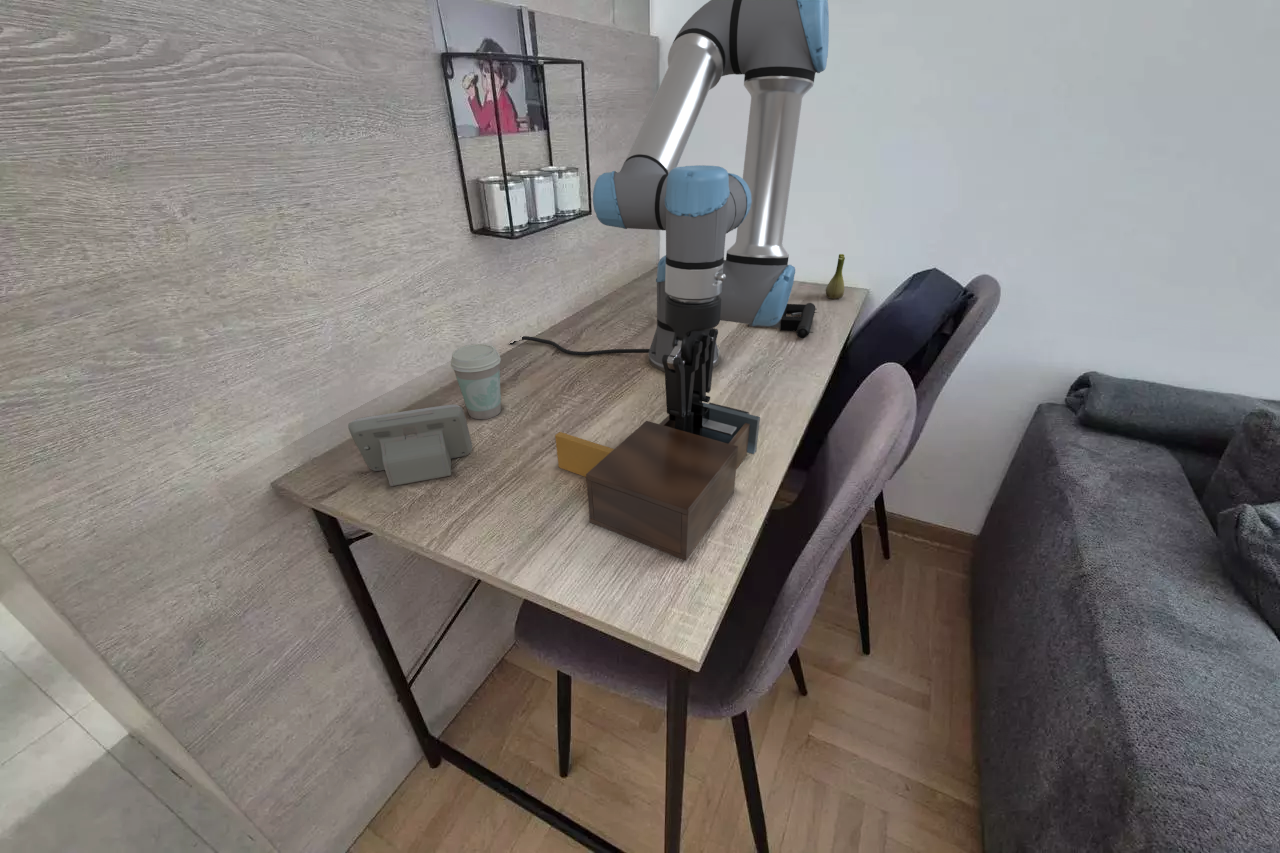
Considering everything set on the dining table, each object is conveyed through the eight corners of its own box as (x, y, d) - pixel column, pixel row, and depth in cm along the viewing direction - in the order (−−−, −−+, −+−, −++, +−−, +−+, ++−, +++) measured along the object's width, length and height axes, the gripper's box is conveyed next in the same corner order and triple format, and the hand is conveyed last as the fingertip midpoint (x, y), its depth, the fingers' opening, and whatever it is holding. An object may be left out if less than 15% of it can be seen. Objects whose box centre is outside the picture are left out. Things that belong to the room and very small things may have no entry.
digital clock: (478, 449, 90) (466, 392, 84) (468, 481, 82) (455, 421, 77) (377, 455, 89) (358, 398, 83) (358, 489, 81) (336, 428, 76)
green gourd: (835, 302, 151) (843, 258, 145) (820, 298, 154) (827, 255, 148) (846, 297, 154) (854, 254, 148) (831, 293, 158) (838, 251, 151)
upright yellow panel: (558, 467, 85) (554, 435, 82) (563, 463, 86) (559, 431, 83) (612, 486, 81) (610, 453, 78) (616, 482, 82) (614, 449, 78)
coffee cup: (461, 426, 96) (447, 364, 90) (461, 404, 103) (449, 345, 97) (510, 419, 98) (500, 358, 92) (507, 398, 105) (498, 340, 99)
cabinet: (646, 464, 85) (646, 420, 81) (734, 493, 79) (738, 446, 75) (589, 522, 74) (585, 474, 70) (686, 561, 67) (688, 510, 63)
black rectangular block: (668, 419, 83) (669, 406, 81) (676, 412, 84) (677, 399, 83) (730, 436, 78) (731, 423, 77) (737, 428, 80) (738, 415, 79)
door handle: (744, 324, 130) (814, 328, 125) (758, 299, 146) (820, 301, 141) (744, 337, 132) (813, 341, 127) (757, 311, 148) (819, 314, 143)
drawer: (692, 418, 96) (693, 386, 93) (766, 437, 90) (770, 404, 87) (637, 473, 82) (636, 438, 79) (720, 501, 76) (722, 464, 73)
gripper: (693, 317, 65) (687, 476, 77) (741, 283, 76) (730, 427, 89) (639, 307, 68) (641, 461, 80) (693, 276, 80) (688, 415, 92)
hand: (688, 443), depth 84 cm, fingers closed on black rectangular block, 3 cm apart
